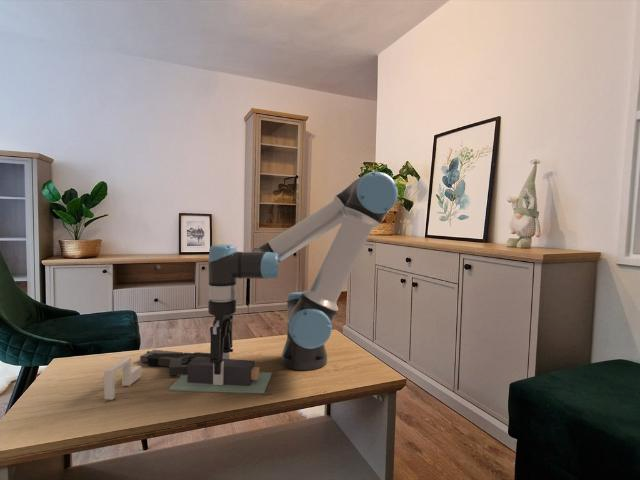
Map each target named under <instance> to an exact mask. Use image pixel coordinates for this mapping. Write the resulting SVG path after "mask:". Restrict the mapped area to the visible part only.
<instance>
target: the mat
mask: <svg viewBox="0 0 640 480" xmlns="http://www.w3.org/2000/svg"><path fill="white" fill-rule="evenodd" d="M272 375H273V373H272V372H268V371H267V372H261V371H259V377H258V379H257V380H253V382H252V383H251V385H250V386H238V385H213V384H205V383H188V382H187V374H181V375H180V377H178V379H176V381H175V382H174V383H172V385H171V386H170V387H169V388H168V391H170V392H171V391H173V392H202V393H203V392H205V393H207V392H208V393H209V392H210V393H232V394H233V393H236V394H238V393H239V394H265V392H266V390H267V388H268V386H269V385H268V384H269V383H270V381H271V377H272Z"/></svg>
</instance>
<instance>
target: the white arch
mask: <svg viewBox="0 0 640 480" xmlns="http://www.w3.org/2000/svg"><path fill="white" fill-rule="evenodd" d="M120 370H121V372H122V374H121V376H122V377H121V378H122V379H121V380H122V382H121V383H122V386H128V387H129V386H131V385H132V384H133V383H135V382H136V381H137V380H138V379H140V378H141V377H142V365H134V366H132V357H123V358H121V359H120V360H118V361H117V362H115V363H114V364H112V365H111V366H109V367H108V368H106V369H105V370H104V371H103V379H104V380H103V382H104V385H103V389H104V400H113V399H115V398H116V397H115V395H116V394H115V373H117V372H118V371H120Z"/></svg>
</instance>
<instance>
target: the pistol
mask: <svg viewBox="0 0 640 480" xmlns="http://www.w3.org/2000/svg"><path fill="white" fill-rule="evenodd" d="M139 357H140V358H139V359H140V362H145V363H146V362H147V365H148V366H153V367H154V366H155V367H156V366H162V367H168V371H169V372H168V374H169V376H173V375H174V376H175V375H177V376H178V375H180V376H181V375H183V374H187V365H184V364H188V363H189V362H191V361H192V360H193V359H194V358H195V357H197V358H210V352H201V351H200V352H199V351H197V352H196V351H195V352H183V351H171V350H161V349H159V350H158V349H153V350H151V351H150V350H147V351H146V353H144V354H141V355H140V356H139Z"/></svg>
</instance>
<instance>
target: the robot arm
mask: <svg viewBox="0 0 640 480" xmlns="http://www.w3.org/2000/svg"><path fill="white" fill-rule="evenodd" d="M398 190H399V189H398V185H397V184H396V182H395V180H394V179H393V178H392V176H390V175H389V174H387V173H385V172H381V171H371V172H368V173H365V174H363V175H362V176H361V177H359V178H357V179H355V180H353V182H352V183H351V184H349V185H348V186H347V187H346V188H345V189H343V190H342V191H341V192H339V193H338V194H336V195H334V197H333V200H332V201H331V202H329V203H328V204H326V205H324V206H323V207H321V208H320V209H318V210H316V211H314V212H313V213H312V214H310V215H308V216H307V217H305V218H304V219H302V220H301V221H299V222H297V223H295V224H294V225H293V226H291V227H290V228H288V229H286V230H285V231H283V232H281V233H279V234H278V235H277V236H275V237H273V238H272V239H270V240H269V241H267V242H266V243H264V244H262V245H260V246H259V247H257V248H255V249H253V250H252V251H238V248H237V245H235V244H213V245H211V246H210V247H209V250H208V251H209V254H208V261H207V262H208V287H207V288H206V290H207V291H208V299H209V300H208V301H207V302H208V308H207V309H208V314H209V315H211V316H214V320H213V322H212V326H210V327H209V331H210V332H209V333H210V348H209V349H210V350H209V351H210V352H209V353H210V363H213V385H223V384H224V361H223V360H222V359H231V353H233V352H234V349H233V319H234V314H235V313H236V312H237V300H236V298H237V279H258V280H259V279H261V280H262V279H264V280H268V279H277V278H278V276H279V263H281V262H282V261H284V260H285V259H287V258H288V257H290V256H292V255H293V254H295V253H296V252H298V251H300V250H301V249H302V248H304V247H306V246H308V245H309V244H311V243H313V242H314V241H316V240H317V239H319V238H320V237H322V236H323V235H325V234H326V233H328V232H330V231H332V230H334V229H335V228H336V227H338V226H340V227H339V229H338V231H337V233H336V235H335V237H334V239H333V241H332V243H331V245H330V247H329V249H328V251H327V253H326V256H325V258H324V260H323V262H322V263H321V265H320V267H319V270H318V271H317V274H316V276H315V278H314V279H313V282H312V283H311V286H310V288H309V289H306V290H304V291H295V292H290V293H288V294H287V298H286V299H287V300H286V305H287V308H286V309H287V310H286V311H287V313H286V314H287V315H286V316H287V317H286V318H287V320H286V322H287V324H286V327H287V328H286V340H285V343H284V347H283V349H282V353H281V364H282V365H283V366H285V367H286V368H289V369H291V370H297V371H311V370H316V369H320V368H323V367H324V366H326V365H327V363H328V352H327V349H326V347H325V344H326V343H327V341H328V340H329V339H330V337H331V335H332V330H333V329H332V328H333V325H332V323H333V321H334V319H335V317H336V316H337V313H338V312H339V307H338V305H337V304H338V303H337V301H338V299H339V298H340V295H341V294H342V291H343V289H344V287H345V285H346V284H347V281H348V279H349V277H350V275H351V273H352V270H354V269H353V268H354V267H355V265H356V263H357V261H358V259H359V256H360V254H361V253H362V251H363V248H364V246H365V245H366V242H367V240H368V238H369V236H370V235H371V232H372V230H373V229H374V228H377V227H379V226H381V223H382V222H383V220H384V217H385V215H386V214H387V212H389V211H391V210H392V208H394V206H395V204H396V203H397V199H398V195H399V191H398Z"/></svg>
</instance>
